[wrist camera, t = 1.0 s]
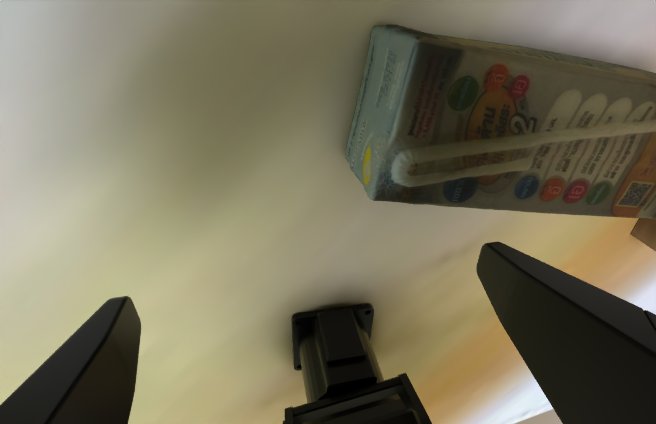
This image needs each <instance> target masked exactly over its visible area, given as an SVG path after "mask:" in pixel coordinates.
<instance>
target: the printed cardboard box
mask: <svg viewBox="0 0 656 424" xmlns="http://www.w3.org/2000/svg"><path fill="white" fill-rule="evenodd" d="M345 156H346V159H347V161H348V162H349V164H350V168H351V170H352V171H353V172H354V173H355V175H356V176H357V177H358V179H359V180H360V181H361V183H362V184H363V186H364V189H365V191H366V192H367V195H368V197H369V198H370V199H371V200H373V201H391V202H402V203H409V204H430V205H437V206H448V207H466V208H478V209H493V210H511V211H522V212H536V213H553V214H570V215H590V216H607V217H626V218H651V219H655V218H656V73H652V72H648V71H644V70H639V69H635V68H630V67H626V66H621V65H616V64H611V63H606V62H601V61H596V60H591V59H586V58H580V57H574V56H569V55H564V54H558V53H553V52H548V51H542V50H536V49H530V48H524V47H518V46H510V45H504V44H497V43H490V42H483V41H476V40H466V39H460V38H454V37H447V36H440V35H432V34H428V33H424V32H420V31H417V30H413V29H409V28H405V27H402V26H398V25H386V26H376V27H374V28H373V30H372V33H371V38H370V45H369V50H368V55H367V60H366V65H365V71H364V75H363V80H362V84H361V88H360V92H359V97H358V101H357V106H356V110H355V114H354V118H353V122H352V127H351V131H350V135H349V138H348V143H347V148H346V154H345Z"/></svg>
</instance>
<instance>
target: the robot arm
mask: <svg viewBox="0 0 656 424" xmlns="http://www.w3.org/2000/svg"><path fill="white" fill-rule="evenodd" d="M477 274H478V277H479V279H480V281H481V283H482V285H483V287H484V289H485V291H486V293H487V295H488V297H489V299H490V302H491V304H492V306H493V308H494V310H495V312H496V314H497V316H498V318H499V320H500V322H501V324H502V325H503V327H504V329H505V330H506V332H507V334H508V335H509V337H510V339H511V340H512V342H513V343H514V345H515V347H516V348H517V350H518V352H519V353H520V355H521V356H522V358H523V360H524V361H525V363H526V365H527V366H528V368H529V369H530V371H531V373H532V374H533V376H534V378H535V379H536V381H537V382H538V384H539V386H540V387H541V389H542V391H543V392H544V394H545V395H546V397H547V399H548V400H549V402H550V404H551V405H552V407H553V408H554V410H555V412H556V413H557V415H558V417H559V418H560V420H561V421H562V423H563V424H656V315H655V314H653V313H651V312H649V311H646V310H645V311H643V309H642V308H640V307H638V306H636V305H634V304H631V303H629V302H627V301H625V300H623V299H621V298H619V297H616V296H614V295H612V294H610V293H608V292H606V291H604V290H601V289H599V288H597V287H595V286H593V285H591V284H589V283H586V282H584V281H582V280H580V279H578V278H576V277H574V276H571V275H569V274H567V273H565V272H563V271H561V270H559V269H556V268H554V267H552V266H550V265H548V264H546V263H544V262H541V261H539V260H537V259H535V258H533V257H531V256H529V255H526V254H524V253H522V252H520V251H518V250H516V249H514V248H511V247H509V246H507V245H505V244H503V243H501V242H492V243H486V244H484V245H483V246H482V248H481V252H480V255H479V259H478V263H477ZM373 314H374V310H373V307H372V306H371V305H370V304H365V305H358V306H351V307H345V308H338V309H331V310H324V311H317V312H310V313H303V314H297V315H294V316H293V317H292V319H291V321H292V343H293V364H294V369H295V370H302V373H303V379H304V385H305V391H306V397H307V404H304V405H301V406H297V407H294V408H293V407H289V408H286V409H285V421H283V424H432V423H431V421H430V419H429V416H428V415H427V413H426V411H425V409H424V407H423V405H422V403H421V401H420V399H419V397H418V395H417V394H416V392H415V390H414V388H413V386H412V384H411V382H410V380H409V378H408V376H407V374H406V373H404V374H400V375H398V377H395V378H392V379H388V380H385V381H384V379H383V376H382V373H381V370H380V368H379V365H378V362H377V359H376V356H375V354H374V351H373V348H372V345H371V343H370V337H371V329H372V321H373ZM298 320H299V321H298ZM140 335H141V322H140V318H139V316H138V314H137V311H136V309H135V306H134V304H133V302H132V300H131V298H130V297H128V296H123V297H116V298H111V299H109V300H108V301H106V302H105V303H104V304H103V305H102V306H101V307H100V308H99V309H98V310H97V311H96V312H95V313H94V314H93V315H92V316H91V317H90V318H89V319H88V320H87V321H86V322H85V323H84V324H83V325H82V326H81V327H80V328H79V329H78V330H77V331H76V332H75V333H74V334H73V335H72V336H71V337H70V338H69V339H68V340H67V341H66V342H64V343H63V344H62V345H61V346H60V347H59V348H58V349H57V350H56V351H55V352H54V353H53V354H52V355H51V356H50V357H49V358H48V359H47V360H46V361H45V362H44V363H43V364H42V365H41V366H40V367H39V368H38V369H37V370H36V371H35V372H34V373H33V374H32V375H31V376H30V377H29V378H28V379H27V380H26V381H25V382H24V383H23V384H22V385H21V386H20V387H19V388H18V389H16V390H15V391H14V392H13V393H12V394H11V395H10V396H9V397H8V398H7V399H6V400H5V401H4V402H3V403H2V404H1V405H0V424H128V420H129V415H130V411H131V406H132V402H133V397H134V392H135V384H136V374H137V365H138V355H139V345H140Z"/></svg>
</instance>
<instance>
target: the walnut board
mask: <svg viewBox="0 0 656 424" xmlns="http://www.w3.org/2000/svg"><path fill="white" fill-rule="evenodd" d="M631 235H633V236H634V237H636V238H637V239H639V240H640V241H641V242H643V243H644V244H646V245H647V246H649V247H650V248H652V249H653V250H655V251H656V218H655V219H651V218H640V219H639V220H638V222H637V224H636V226H635V227H634V229H633V231H632V232H631Z"/></svg>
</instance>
